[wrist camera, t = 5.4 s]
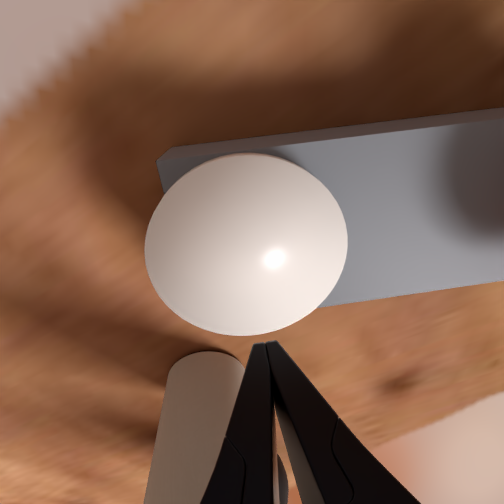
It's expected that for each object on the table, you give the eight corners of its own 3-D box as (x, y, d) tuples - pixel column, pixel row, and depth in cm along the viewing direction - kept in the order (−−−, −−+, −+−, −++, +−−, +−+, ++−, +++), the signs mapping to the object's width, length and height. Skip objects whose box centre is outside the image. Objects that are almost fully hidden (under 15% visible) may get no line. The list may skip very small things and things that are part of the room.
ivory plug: (226, 101, 17) (229, 99, 12) (343, 205, 21) (387, 241, 16) (136, 232, 20) (105, 280, 15) (252, 301, 24) (261, 359, 19)
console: (572, 98, 19) (675, 97, 15) (516, 239, 25) (580, 269, 20) (171, 147, 18) (155, 161, 14) (202, 284, 24) (197, 325, 19)
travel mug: (151, 370, 28) (61, 721, 12) (219, 336, 27) (219, 677, 11) (197, 409, 31) (174, 719, 16) (259, 381, 30) (302, 686, 14)
